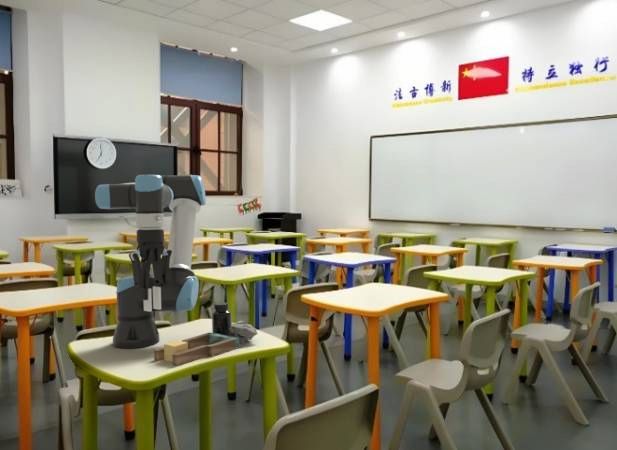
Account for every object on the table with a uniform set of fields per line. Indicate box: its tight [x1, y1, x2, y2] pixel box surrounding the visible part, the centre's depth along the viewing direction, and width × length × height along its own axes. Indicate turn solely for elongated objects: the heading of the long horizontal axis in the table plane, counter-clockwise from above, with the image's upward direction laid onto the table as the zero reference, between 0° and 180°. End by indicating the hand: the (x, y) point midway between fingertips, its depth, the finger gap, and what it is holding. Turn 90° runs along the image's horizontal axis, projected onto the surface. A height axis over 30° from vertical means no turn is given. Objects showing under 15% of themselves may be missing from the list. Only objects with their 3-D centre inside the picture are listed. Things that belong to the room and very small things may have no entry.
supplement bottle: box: [211, 302, 233, 336], centre depth 178 cm, size 7×7×12 cm
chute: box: [153, 332, 240, 367], centre depth 159 cm, size 14×24×3 cm, turn 144°
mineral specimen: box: [229, 320, 258, 343], centre depth 171 cm, size 10×8×10 cm
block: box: [163, 340, 188, 363], centre depth 153 cm, size 5×5×5 cm
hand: (152, 309), depth 146 cm, fingers open, 3 cm apart
